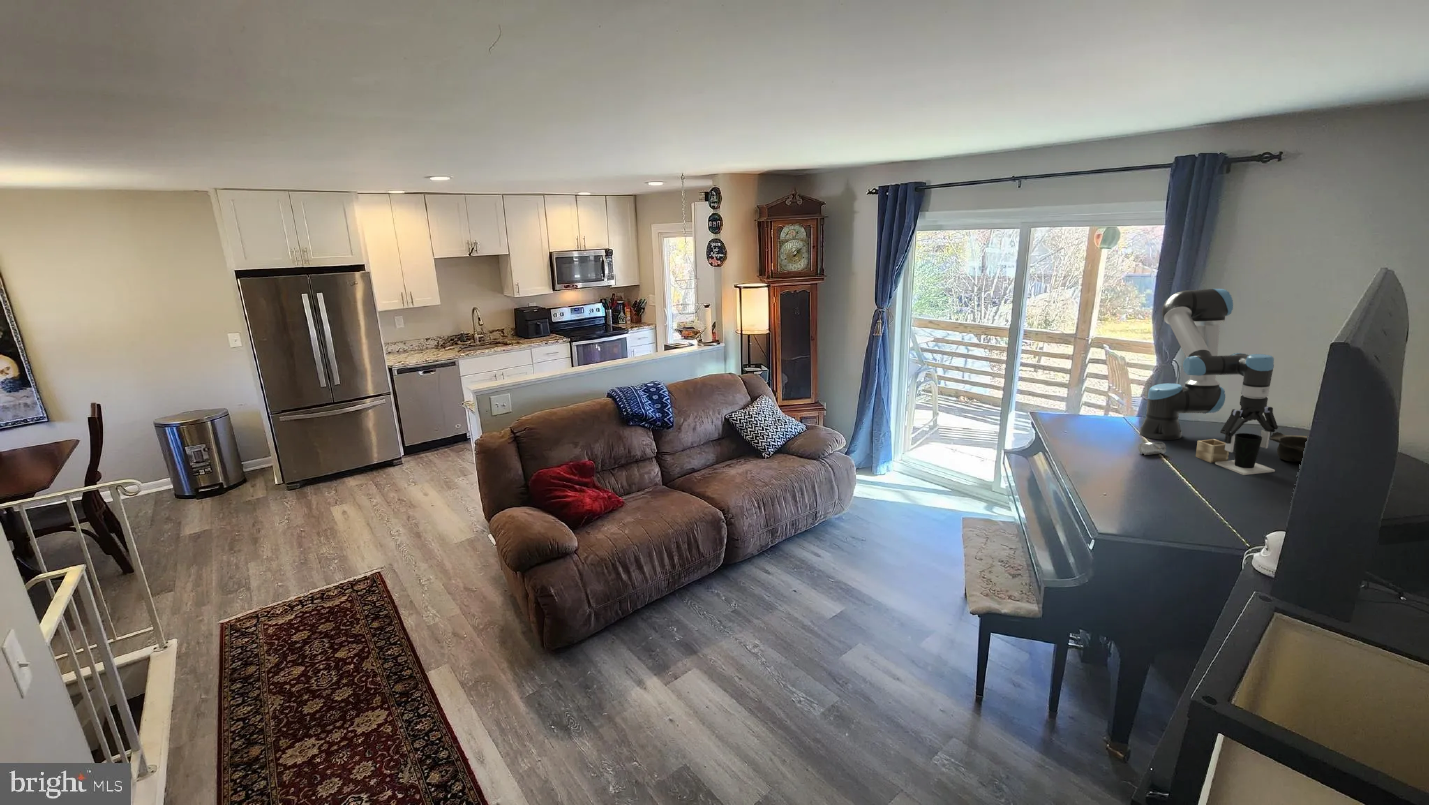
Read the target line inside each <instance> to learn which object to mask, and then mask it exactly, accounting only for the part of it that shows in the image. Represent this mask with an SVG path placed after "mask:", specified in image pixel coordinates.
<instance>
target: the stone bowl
mask: <svg viewBox="0 0 1429 805" xmlns="http://www.w3.org/2000/svg"><path fill="white" fill-rule="evenodd" d="M1269 441H1273V442H1275V443H1278V446H1277V448H1276V452H1277V453H1276V455H1277V457H1278V458H1279V459H1281V460H1283V461H1287V462H1303V461H1302V458H1303V451H1304V448H1305V442H1306V441H1307V435H1295V434H1287V435H1286V434H1284V433H1282V432H1278V431H1275V432H1272V433H1271V438H1270V439H1269Z"/></svg>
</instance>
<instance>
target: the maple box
mask: <svg viewBox="0 0 1429 805" xmlns="http://www.w3.org/2000/svg"><path fill="white" fill-rule="evenodd" d="M1196 444H1197V445H1196V451H1195V457H1196V458H1198V459H1200V460H1202V461H1205V462H1207V463H1211V464H1212V463H1215V462H1221V461H1229V455H1230V454H1229V453H1230V452H1229V451H1226V450H1225V441H1221V440H1219V439H1215V438H1211V439H1203V440H1197V442H1196Z"/></svg>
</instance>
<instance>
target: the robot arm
mask: <svg viewBox="0 0 1429 805" xmlns="http://www.w3.org/2000/svg"><path fill="white" fill-rule="evenodd" d="M1233 301H1234V300H1233V297H1232V295H1231V294H1230V292H1229V291H1228V290H1227V289H1224V288H1206V289H1205V288H1204V289H1193V290H1191V289H1190V290H1181V291H1178V292H1175V293H1173V294H1171V295H1170V296H1169V297H1168V298H1167V299H1166V300H1165V301H1164V302H1163V305H1162V308H1161V316H1162V319H1163V321H1164V323H1166V324H1167V325H1169V327H1170V328H1171V330H1172V332H1173V334H1174V336H1175V338H1176V340H1177V342H1178V344H1179V346H1180V348H1181V350H1182V352H1183V353H1184V355H1185V358H1184V360H1183V363H1182V364H1183V365H1182V368H1183V372H1184V373H1185V374H1186V375H1187V376H1189V379H1188V380H1187V381H1185V383H1184V387H1183V386H1182V385H1181V384H1179V383H1170V382H1168V383H1158V384H1155V385H1152V386H1151V387H1150V388H1149V390H1148V392H1147V393H1148V395H1147V402H1146V403H1147V404H1146V411H1145V412H1146V414H1145V419H1144V421H1143V423H1142V425H1141V427H1140V428H1139V434H1140V436H1142V437H1145V438H1149V439H1152V440H1161V441H1162V440H1164V441H1174V440H1175V441H1176V440H1178V439H1179V440H1180V439H1181V438H1182V436H1183V434H1182V433H1183V432H1182V428H1181V425H1180V422H1179V418H1180V417H1179V415H1180V414H1214V413H1218V412H1219V411H1220V410H1221V409H1222V408H1223V406H1224V404H1225V401H1226V391H1225V389H1224V388H1223V386H1220V385H1221V384H1220V382H1219V381H1218V380H1216V379H1217V378H1216V376H1219V375H1220V376H1231V375H1234V376H1235V375H1236V376H1238V375H1239V376H1242V378H1243V380H1242V385H1241V390H1240V391H1241V392H1240V393H1241V394H1240V400H1239V405H1240V409H1235V408H1234V409H1231V412H1230V415H1229V416H1228V418H1227V420H1226V422H1225V423H1224V425H1223V426H1222V428H1221V430H1220V431H1219V432H1220V434H1222V435H1225V436H1224V443H1225V450H1226V451H1229V453H1234V449H1235V434H1237V433H1238V431H1239V430H1240V429H1241V428H1242V426H1243V425H1245V423H1248V422H1250V421H1257V422H1258V424H1259V425H1260V426H1261V427H1262V429H1261V430H1260V431H1261V432H1260V436H1261V437H1262V441H1261V444H1260V447H1261V448H1264V449H1268V448H1269V443H1270V442H1269V441H1270V438H1271V435H1272V433H1276V430H1278V429H1279V426H1278V423H1277V421H1276V417H1275V415H1274V408H1273V407H1272V406H1268V401H1269V399H1268V397H1269V394H1270V388H1271V384H1272V383H1271V382H1272V378H1273V371H1274V367H1275V364H1274V363H1275V358H1274V356H1272V355H1270V354H1263V353H1252V354H1248V353H1247V354H1246V353H1242V352H1236V353H1233V354H1230V355H1218V351H1219V338H1220V329H1221V328H1220V327H1221V324H1223V322H1225V320H1226V317H1227V316H1230V315H1231V314H1232V312H1233V310H1234V302H1233Z"/></svg>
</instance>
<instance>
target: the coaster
mask: <svg viewBox="0 0 1429 805" xmlns="http://www.w3.org/2000/svg"><path fill="white" fill-rule="evenodd" d="M1214 464H1215V465H1217V466H1219V467H1222V468H1224V469H1226V470H1230V471H1233V472H1235V473H1237V474H1240V475H1242V476H1246V475H1255V474H1265V473H1267V474H1268V473H1275V471H1276V470H1275V469H1273V468H1272V467H1268V466H1267V465H1263V464H1260V463H1257V462H1255V466H1254V468H1241V467H1238V466H1235V459H1234V460H1233V459H1232V460H1228V461H1221V462H1214Z"/></svg>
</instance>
